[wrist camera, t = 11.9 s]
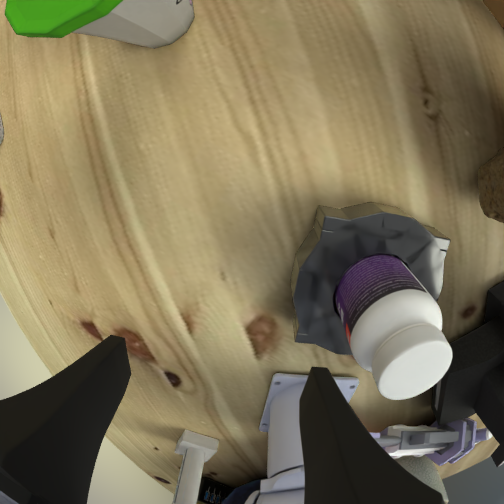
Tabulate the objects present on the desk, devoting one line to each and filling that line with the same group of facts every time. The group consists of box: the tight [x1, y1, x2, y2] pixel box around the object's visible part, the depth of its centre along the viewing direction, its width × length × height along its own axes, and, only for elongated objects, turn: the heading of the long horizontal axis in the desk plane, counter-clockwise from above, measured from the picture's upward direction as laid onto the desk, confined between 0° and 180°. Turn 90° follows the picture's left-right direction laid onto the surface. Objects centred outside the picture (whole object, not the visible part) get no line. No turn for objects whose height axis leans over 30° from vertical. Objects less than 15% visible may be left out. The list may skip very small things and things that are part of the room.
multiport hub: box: [197, 478, 234, 504], centre depth 34 cm, size 4×11×2 cm
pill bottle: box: [333, 253, 452, 400], centre depth 16 cm, size 5×5×10 cm
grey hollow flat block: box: [290, 202, 450, 355], centre depth 19 cm, size 11×11×2 cm
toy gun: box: [369, 417, 492, 466], centre depth 24 cm, size 7×28×8 cm
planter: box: [393, 455, 448, 504], centre depth 27 cm, size 12×12×11 cm
